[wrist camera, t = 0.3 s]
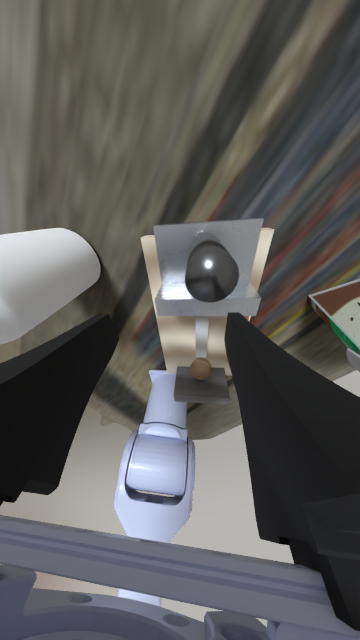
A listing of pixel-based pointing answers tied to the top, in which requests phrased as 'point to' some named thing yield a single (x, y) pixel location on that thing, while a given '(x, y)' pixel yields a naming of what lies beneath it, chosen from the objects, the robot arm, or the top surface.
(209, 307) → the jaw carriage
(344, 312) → the food container
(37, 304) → the can
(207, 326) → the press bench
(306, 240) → the top surface
